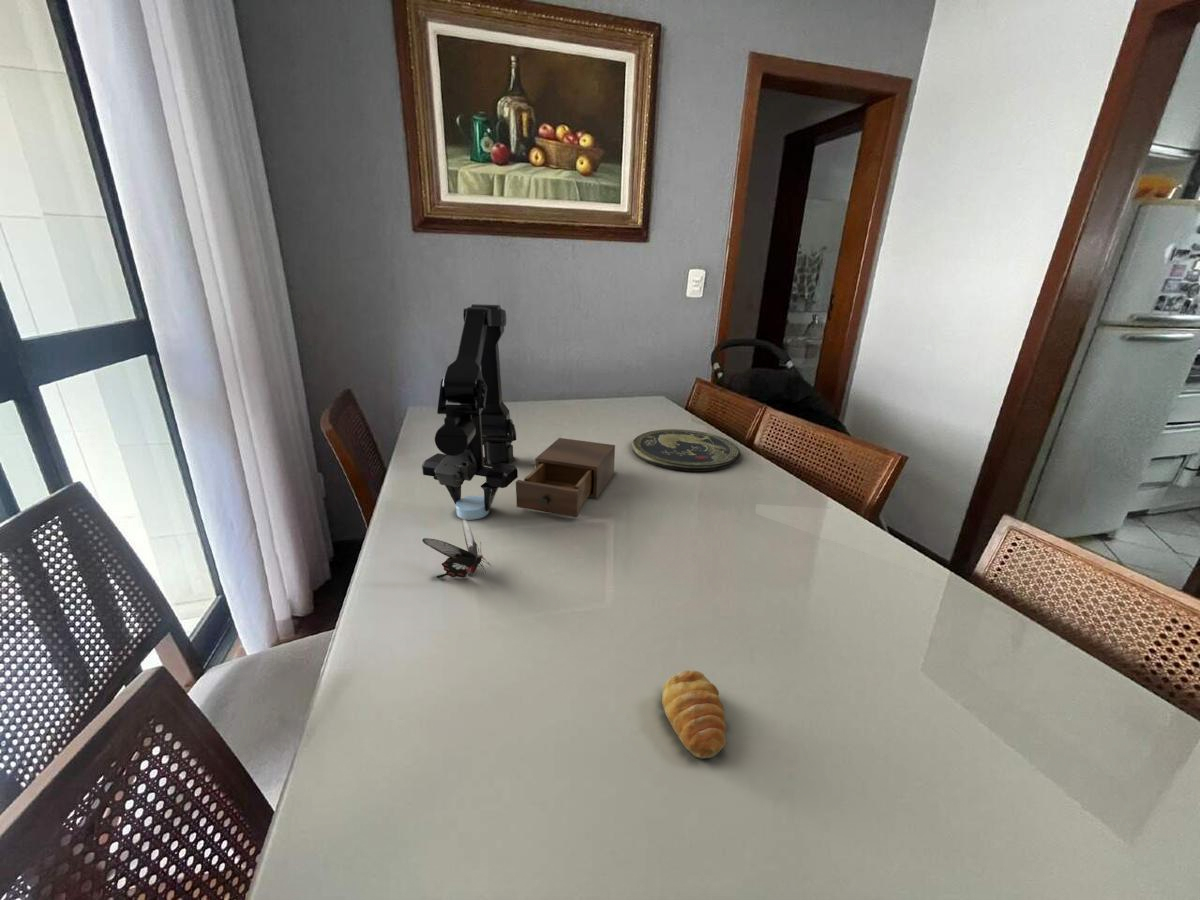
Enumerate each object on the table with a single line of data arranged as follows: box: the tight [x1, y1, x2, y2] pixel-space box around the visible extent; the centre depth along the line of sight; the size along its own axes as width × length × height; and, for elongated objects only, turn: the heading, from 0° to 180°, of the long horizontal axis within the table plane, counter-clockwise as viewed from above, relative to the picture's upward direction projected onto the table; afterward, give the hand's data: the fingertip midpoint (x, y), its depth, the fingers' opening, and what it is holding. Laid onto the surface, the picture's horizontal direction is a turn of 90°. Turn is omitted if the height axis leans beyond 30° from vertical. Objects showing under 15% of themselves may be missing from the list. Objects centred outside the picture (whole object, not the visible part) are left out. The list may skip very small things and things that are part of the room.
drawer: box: [515, 462, 594, 518], centre depth 104 cm, size 15×13×6 cm
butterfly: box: [421, 518, 491, 579], centre depth 79 cm, size 11×8×10 cm
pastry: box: [661, 670, 727, 759], centre depth 55 cm, size 9×7×4 cm
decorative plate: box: [631, 428, 741, 472], centre depth 136 cm, size 30×2×30 cm
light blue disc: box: [455, 495, 490, 521], centre depth 101 cm, size 7×7×2 cm
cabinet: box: [535, 437, 616, 499], centre depth 115 cm, size 15×15×8 cm
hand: (472, 507), depth 101 cm, fingers closed on light blue disc, 6 cm apart
